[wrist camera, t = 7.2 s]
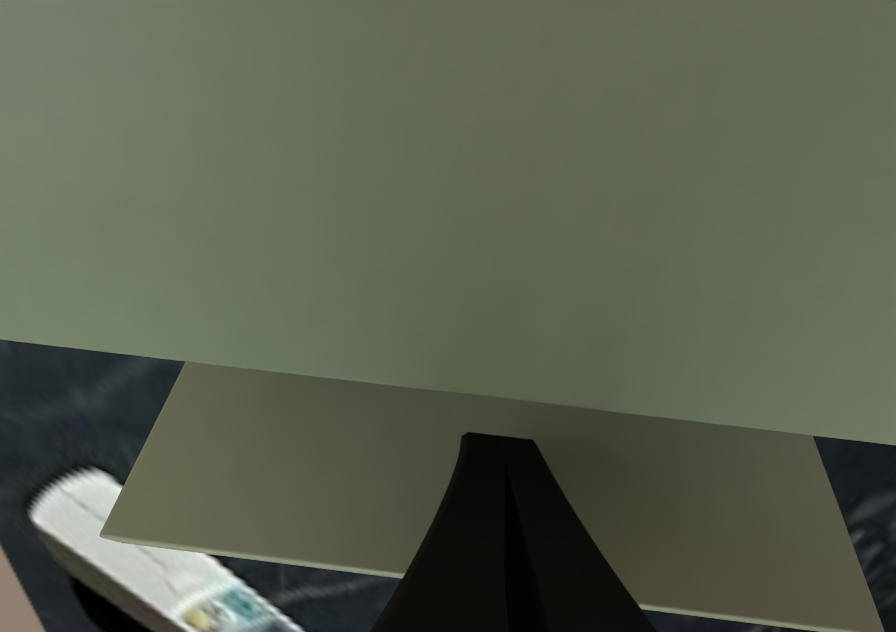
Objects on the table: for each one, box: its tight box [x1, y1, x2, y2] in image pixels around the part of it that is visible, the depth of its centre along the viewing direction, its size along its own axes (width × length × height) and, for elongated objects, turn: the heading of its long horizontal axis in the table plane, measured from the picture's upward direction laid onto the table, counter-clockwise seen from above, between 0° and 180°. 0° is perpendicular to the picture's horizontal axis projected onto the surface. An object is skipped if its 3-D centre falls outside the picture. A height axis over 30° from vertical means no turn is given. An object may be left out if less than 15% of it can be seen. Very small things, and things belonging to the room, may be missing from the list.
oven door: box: [100, 361, 884, 632], centre depth 13 cm, size 5×15×9 cm
